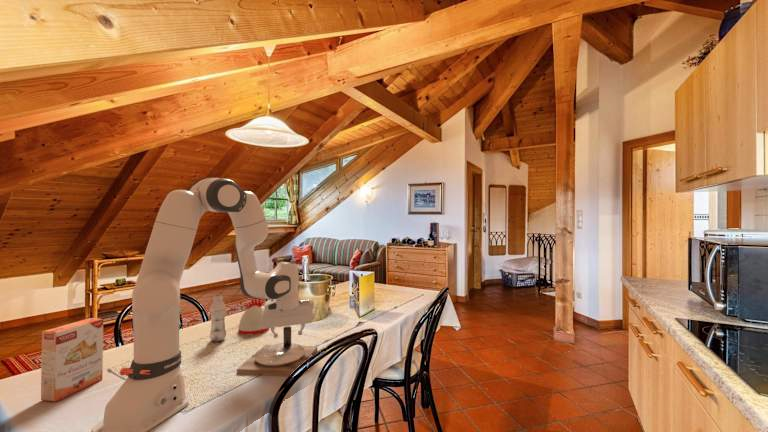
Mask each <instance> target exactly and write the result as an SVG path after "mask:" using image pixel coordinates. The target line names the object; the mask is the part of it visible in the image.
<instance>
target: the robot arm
mask: <svg viewBox="0 0 768 432" xmlns="http://www.w3.org/2000/svg"><path fill="white" fill-rule="evenodd" d="M206 212H212V213H226V214H228V216H229V217H230V219H231V223H232V226H233V229H234V233H235V240H234V249H235V255H236V259H237V264H238V270H239V275H240V276H239V277H240V280H239V281H240V283H239V284H240V285H239V286H240V290H241V291H240V292H241V293H242V294H243V295H244V296H245V297H247V298H255V299H257V298H260V299H264V300H266V301H265V302H264V306H263V307H264V309H263V313H262V320H261V327H262V328H263V329H266V328H269V329H270V332H271V333H272V335H273V339H278V338H279V333H278V332H276V331H275V330H276V329H275V328H280V327H286V326H295V325H296V326H298V325H300V326H301V327H300V328H299V329H297V335H298V336H302V335H303V331H304V329H305V327H306V324H312V323H313V322H314V318H315V317H314V311H313V310H314V309H315V303H314V301H312V300H311V299H307V300H305V299H304V300H303V299H302V300H300V291H299V285H300V284H299V282H300V280H299V279H300V278H299V268H298V264H297V263H295V262H289V261H288V262H287V261H279V262H278V263H277V265H276V266H275V267H273V269H272V270H271V271H268V272H264V271H261V270H259V269H258V267H257V263H256V258H255V247H257V246H259V245H261V244H262V243H263V242H264V241H265V240H266V239H267V237H268V235H269V231H270V230H269V224H268V221H267V217H266V214H265V211H264V209H263V207H262V205H261V203H260V201H259V199H258V196H257V195H256V194H255V193H254V192H252V191H250V190H249V191H248V190H243V189H242V187H240V185H239V184H237V182H235V181H234V180H232V179H229V178H219V177H206V178H201V179H198V180H196V181H195V182H194V183H192V185H191V186H190V187H188V188H187V189H175V190H172V191H170V192H169V193H167V195H166V197H165V198H164V200H163V202H162V204H161V206H160V208H159V210H158V213H157V215H156V217H155V221H154V224H153V227H152V230H151V234H150V237H149V240H148V242H147V245H146V249H145V253H144V256H143V259H142V262H141V266H140V268H139V272H138V276H137V278H136V281H135V285H134V287H133V290H132V292H131V293H132V294H131V306H132V307H131V309H132V311H131V312H132V331H133V358H132V361H131V364H130V367H121V368H120V370H119V375H120V377H121V376H125V377H127V378H126V380H125V381H124V382H123V383H122V384H121V386H120V387H119V389H118V390H117V391H116V392H115V393H114V395H113V396H112V398H110V400H108V402H107V403H106V405H105V408H104V413H103V419H102V420H100V421H99V422H98V423H97V424H96V425H94V426H93V427H92V428H91V430H90V431H91V432H148V431H150V430H151V429H153V428H155V427H157V426H158V425H159V424H161V423H162V422H164V421H165V420H167V419H168V418H170V417H172V416H173V415H175V414H176V413H178V412H179V411H181V410H182V409H184V408H186V407H187V406H189V404H190V403H189V399H188V397H187V394H186V388H185V381H184V379H185V378H184V375H183V372H182V369H181V364H182V350H180V320H181V319H180V317H181V316H180V315H181V311H180V310H181V287H180V283H181V280H182V275H183V274H184V270H185V268H186V265H187V262H188V260H189V257H190V254H191V252H192V249H193V245H194V241H195V237H196V235H197V231H198V227H199V223H200V220H201V218H202V217H203V216H204V215H205V213H206Z"/></svg>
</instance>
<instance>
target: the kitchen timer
mask: <svg viewBox="0 0 768 432" xmlns="http://www.w3.org/2000/svg"><path fill="white" fill-rule="evenodd" d="M263 304H264V300H262V301H261V298H259V299H258V300H257V298H254V299H253V298H252V299H251V301H248V306H247V304H245V308H246V309H245V310H244V312H243V313H242V315H241V317H240V321H239V323H238V333H239V334H241V335H244V334H253V335H259V334H262V332H263V333H265V332H267V331H269V330H270V328H266V329H263V328H262V327H261V320H262V313H263V310H264V309H263V307H262V305H263ZM266 330H267V331H266ZM264 331H265V332H264ZM258 333H259V334H258Z"/></svg>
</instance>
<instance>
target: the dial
mask: <svg viewBox="0 0 768 432" xmlns="http://www.w3.org/2000/svg"><path fill="white" fill-rule="evenodd" d="M269 345H270V346H266V347H264V348H262V347H261V348H262V349H261V348H260V349H259V350H257V351H256V352H255V353H256V354H255V353H254V354H255V362H256V363H257V364H258V365H261V366H265V367H279V366H285V365H289V364H292V363H295V362H297V361H299V360H300V359H302V358H303V356H304V347H303V346H304V345H302V344H298V343H293V342H292V325H290V326H283V342H282V343H281V342H280V343H274V344H269Z"/></svg>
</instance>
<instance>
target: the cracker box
mask: <svg viewBox="0 0 768 432" xmlns="http://www.w3.org/2000/svg"><path fill="white" fill-rule="evenodd" d="M103 357H104V319H103V318H96V317H89V318H84V319H81V320H78V321H75V322H72V323H68V324H64V325H61V326H57V327H53V328H50V329H45V330H43V331H41V359H40V360H41V361H40V363H41V366H40V367H41V369H40V371H41V372H40V373H41V374H40V375H41V376H40V377H41V379H40V381H41V382H40V385H41V386H40V398H41V399H40V400H41V401H46V402H54V403H56V402H58V401H60V400H61V399H65V398H66V397H70V396H71V395H73V394H75V393H78V392H79V391H81V390H83V389H85V388H87V387H89V386H92V385H94V384H96V383H98V382H100V381H102V380H103V369H104V367H103V363H104V361H103V360H104V359H103Z"/></svg>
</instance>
